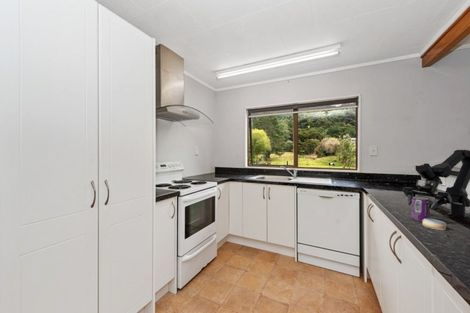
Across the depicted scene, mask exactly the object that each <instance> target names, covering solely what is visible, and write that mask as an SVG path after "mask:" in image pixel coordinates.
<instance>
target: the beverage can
mask: <svg viewBox="0 0 470 313" xmlns="http://www.w3.org/2000/svg"><path fill="white" fill-rule="evenodd" d="M430 208H431V202H430V199H429V197H425V196H415V197H413V199H412V203H411V205H410V209H411V212H410V213H411V214H410V216H411V219H412V220H413V221H416V222H419V223H423V219H426V218H428V219H431V217H430V216H431V209H430Z"/></svg>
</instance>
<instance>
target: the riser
mask: <svg viewBox="0 0 470 313" xmlns="http://www.w3.org/2000/svg"><path fill="white" fill-rule="evenodd" d="M422 226H423V227H425V228H428V229H432V230H437V231H446V230H447V222H444V221H443V220H440V219H436V218H430V219H428V218H426V219H423V222H422Z"/></svg>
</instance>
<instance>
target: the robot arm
mask: <svg viewBox="0 0 470 313" xmlns="http://www.w3.org/2000/svg"><path fill="white" fill-rule="evenodd" d="M460 162H461V167H460V169H459V170H458V171H459V172H458V174H457V175H456V176H457V177H456V178H455V181H454V183H453V184H452V186H448V187H446V189H445V191H438V188H439V185H442V184H443V181H442V179H441V178H443V179H444V178H445V179H447V178H449V177H450V176H451V174H452V173H453V168H455V167H456V166H457V165H458V164H460ZM415 171H416V173H418V175H419V176H420V177H421V179H417V180H416V183H415V186H416V187H417V190H415V189H414V188H413V187H407V186H405V187H403V188H402V192H403V194H404V196H406V197H407V201H408V202H407V204H408V206H411V204H412V199H413V197H417V195H418V196H420V197H424V198H432V199H434V200H433V201H432V204H430V211H432V210H433V211H434V209H436V208H438V207H440V206H442V205H447V204H448V205H449V213H448V212H447V215H448V216H449V215H450V216H453V217H458V218H467V217H469V215H468V214H466V208H470V198H468V196H469V194H468V192H467V186H468V185H469V183H470V150H469V149H456V150H454V151H453V153H452V154H451V155H449V156H447V158H446V159H445V160H443V162H441V163H438V164H434V165H433V166H431V165H430V163H425V162H424V163H423V164H420V165H418V166H416V168H415ZM422 179H423V180H422ZM424 179H425V180H424Z"/></svg>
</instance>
